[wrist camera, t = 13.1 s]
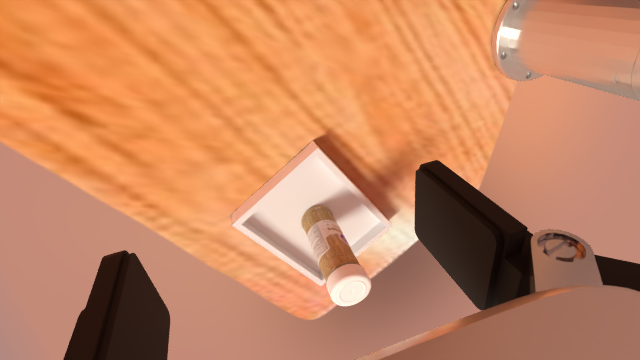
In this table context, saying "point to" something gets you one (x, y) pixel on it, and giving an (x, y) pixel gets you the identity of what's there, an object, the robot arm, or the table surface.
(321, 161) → the tray
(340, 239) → the sprinkles bottle
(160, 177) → the table surface
